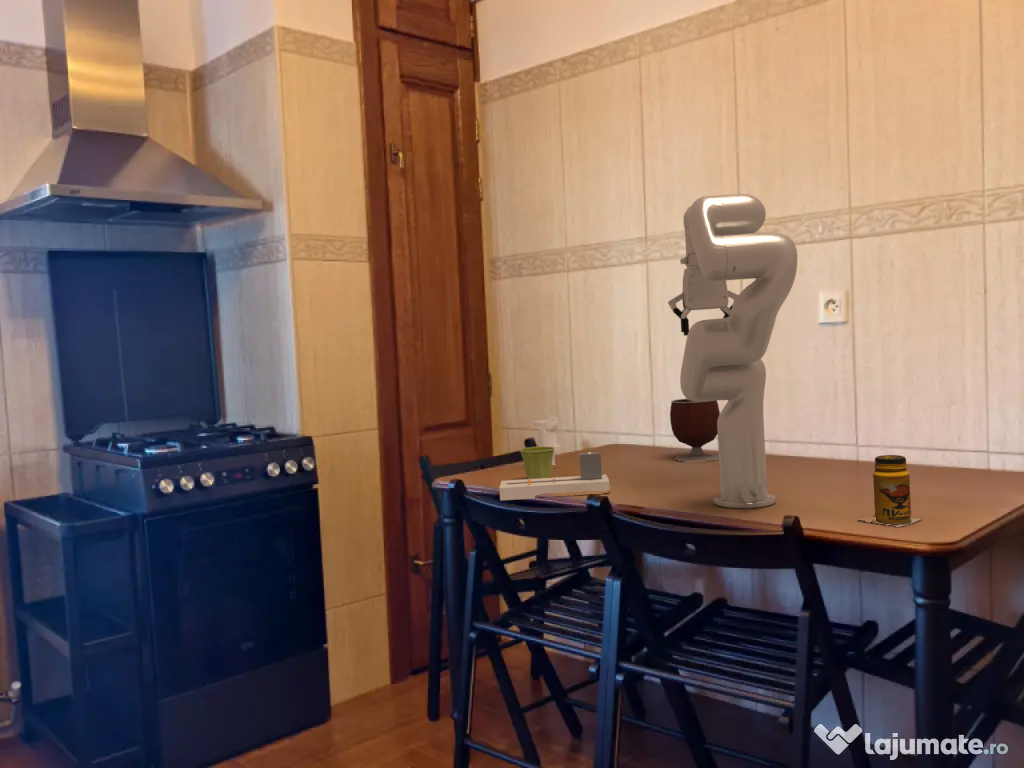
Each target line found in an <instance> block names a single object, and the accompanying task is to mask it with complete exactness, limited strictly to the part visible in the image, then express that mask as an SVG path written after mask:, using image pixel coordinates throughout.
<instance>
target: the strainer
mask: <svg viewBox="0 0 1024 768" xmlns="http://www.w3.org/2000/svg"><path fill="white" fill-rule="evenodd" d="M547 418H548V419H541V420H534V426H535V427H538V428H537V435H538V438H537V439H538V445H536V446H535V447H554V448H555V449H554V450H553V455H552V465H555V466H556V460H555V459H556V457H555V456H556V455H555V451H560V450H562V444H559V435H558V431H557V430H560V417H559V416H549V417H547ZM546 427H548V431H547V429H546Z"/></svg>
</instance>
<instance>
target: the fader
mask: <svg viewBox="0 0 1024 768" xmlns="http://www.w3.org/2000/svg"><path fill="white" fill-rule="evenodd" d="M601 457H602V456H601V452H600V451H594V452H592V451H588V452H579V453H578V459H579V474H580V475H579V476H581V480H584V479H600V478H602V475H603V474H602V458H601Z"/></svg>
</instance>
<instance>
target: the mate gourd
mask: <svg viewBox="0 0 1024 768" xmlns="http://www.w3.org/2000/svg"><path fill="white" fill-rule="evenodd" d="M670 402H671V404H670V408H669V409H670V411H669V418H670V419H669V420H670V421H669V422H670V426H671V431H672V434H673V436H674V438H676V439H677V440H678V442H680V443H682V444H684V445H687V446H688V447H691V450H690V452H689V453H690V454H683V455H678V456H676V457H675V461H676V460H680V461H711V460H716V461H718V460H719V454H718V455H717V454H713V453H704V450H703V448H702V447H703V446H705V445H706V444H709V443H711V442H713V441H714V440H715V439H716V437H718V432H717V421H718V417H719V415H720V413H721V411H720V407H719V403H718V400H716V401H691V400H688V399H687V398H680V399H679V398H678V399H673V400H671V401H670ZM717 459H718V460H717ZM711 462H712V461H711Z"/></svg>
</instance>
